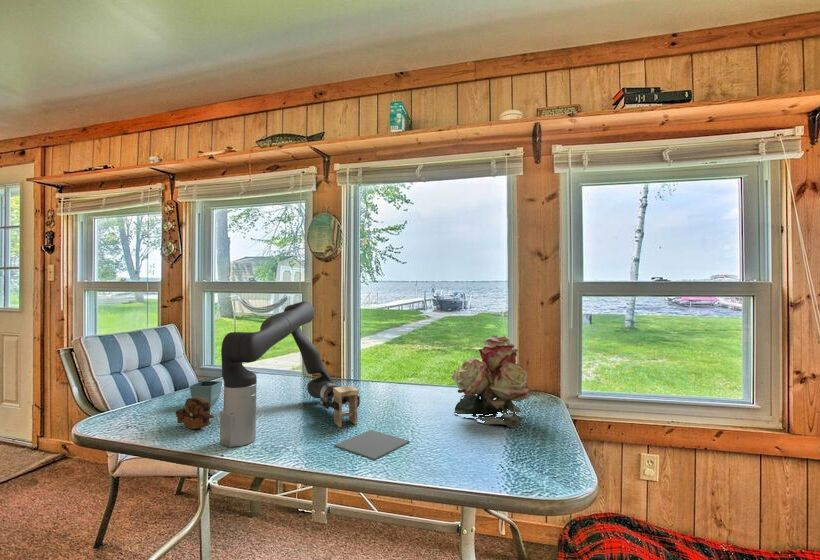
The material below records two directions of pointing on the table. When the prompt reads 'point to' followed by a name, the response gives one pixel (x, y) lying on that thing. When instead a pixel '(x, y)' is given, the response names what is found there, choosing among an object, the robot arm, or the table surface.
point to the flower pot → (207, 390)
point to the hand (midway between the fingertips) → (347, 406)
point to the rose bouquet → (492, 383)
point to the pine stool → (352, 395)
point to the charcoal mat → (372, 444)
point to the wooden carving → (195, 413)
